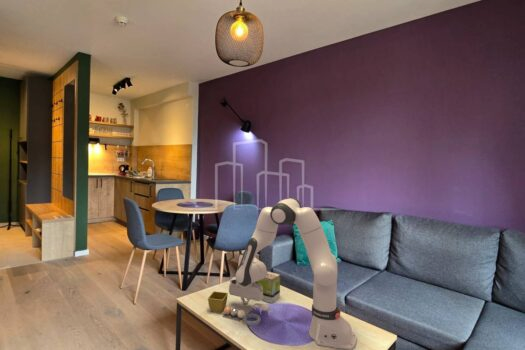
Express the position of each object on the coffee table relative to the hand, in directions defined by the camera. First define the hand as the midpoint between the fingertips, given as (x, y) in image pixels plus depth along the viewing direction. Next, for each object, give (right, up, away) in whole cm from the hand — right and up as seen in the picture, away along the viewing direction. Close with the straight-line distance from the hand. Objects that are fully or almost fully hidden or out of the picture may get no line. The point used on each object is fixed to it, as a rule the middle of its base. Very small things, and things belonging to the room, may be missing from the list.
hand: (245, 304), depth 169 cm
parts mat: (-6, -3, -9) cm, 11 cm away
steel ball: (-5, -2, -9) cm, 11 cm away
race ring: (+4, -3, -14) cm, 15 cm away
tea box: (+11, -2, +15) cm, 19 cm away
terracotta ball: (-9, -2, -8) cm, 12 cm away
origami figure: (+9, -3, -5) cm, 11 cm away
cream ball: (-2, -2, -11) cm, 11 cm away
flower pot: (-15, -3, -3) cm, 16 cm away
